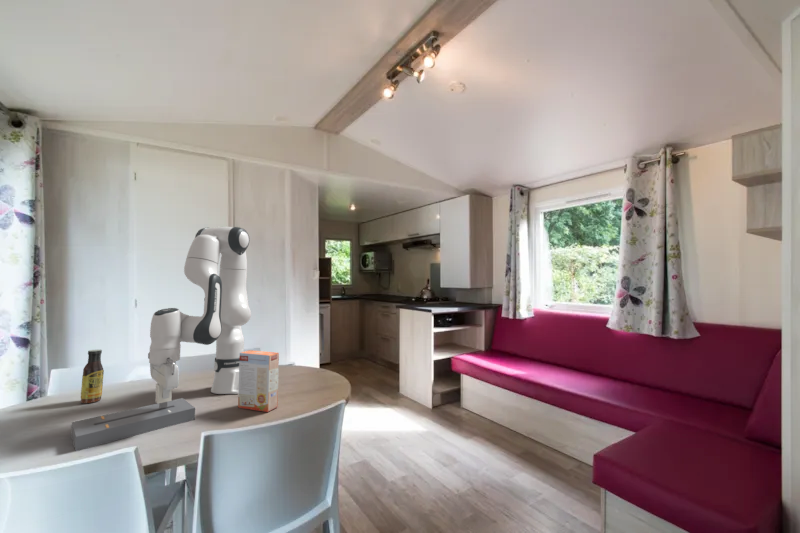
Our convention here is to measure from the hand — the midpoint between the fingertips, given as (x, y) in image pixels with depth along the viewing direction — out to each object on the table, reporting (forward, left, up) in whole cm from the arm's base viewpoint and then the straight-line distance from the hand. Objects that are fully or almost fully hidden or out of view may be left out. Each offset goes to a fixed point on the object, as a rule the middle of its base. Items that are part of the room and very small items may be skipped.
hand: (163, 396), depth 117 cm
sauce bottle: (+14, -41, -8) cm, 44 cm away
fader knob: (0, 0, -4) cm, 4 cm away
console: (+7, 0, -8) cm, 11 cm away
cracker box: (-28, +12, -8) cm, 31 cm away
